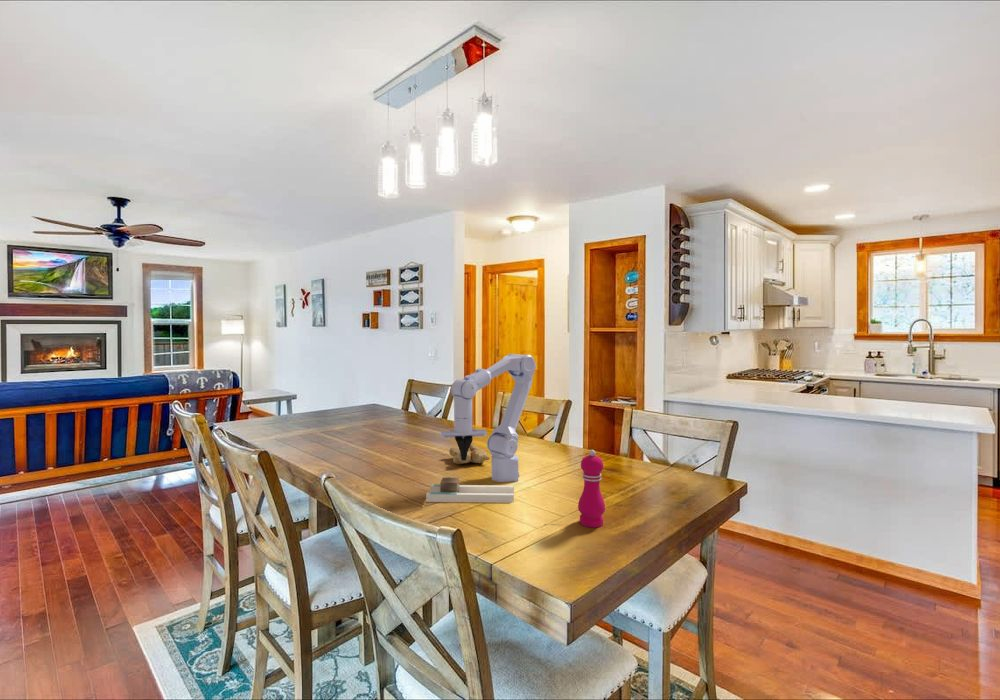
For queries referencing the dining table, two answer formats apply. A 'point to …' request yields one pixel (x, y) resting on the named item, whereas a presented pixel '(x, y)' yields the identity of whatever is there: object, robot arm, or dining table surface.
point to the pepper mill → (591, 492)
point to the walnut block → (449, 485)
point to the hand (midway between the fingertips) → (463, 459)
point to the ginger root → (469, 455)
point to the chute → (473, 494)
